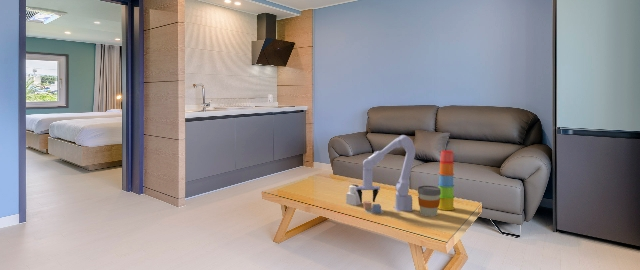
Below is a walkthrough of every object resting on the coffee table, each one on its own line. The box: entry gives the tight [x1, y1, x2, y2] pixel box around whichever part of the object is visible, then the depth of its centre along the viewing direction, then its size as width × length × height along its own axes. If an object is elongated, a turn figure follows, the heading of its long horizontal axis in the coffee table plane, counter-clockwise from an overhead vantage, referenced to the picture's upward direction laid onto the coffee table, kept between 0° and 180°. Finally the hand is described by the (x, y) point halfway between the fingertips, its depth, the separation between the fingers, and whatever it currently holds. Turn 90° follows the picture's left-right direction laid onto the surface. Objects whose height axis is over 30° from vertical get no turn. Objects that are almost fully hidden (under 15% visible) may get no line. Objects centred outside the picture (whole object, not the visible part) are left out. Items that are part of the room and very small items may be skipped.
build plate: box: [364, 207, 385, 214], centre depth 214 cm, size 10×10×1 cm
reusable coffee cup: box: [417, 185, 441, 217], centre depth 208 cm, size 13×13×15 cm
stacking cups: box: [437, 150, 456, 211], centre depth 217 cm, size 10×10×35 cm
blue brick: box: [371, 203, 382, 214], centre depth 211 cm, size 4×4×4 cm
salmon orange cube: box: [362, 200, 373, 211], centre depth 217 cm, size 4×4×4 cm
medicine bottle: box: [345, 184, 362, 207], centre depth 227 cm, size 7×7×12 cm
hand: (367, 201), depth 217 cm, fingers open, 7 cm apart
